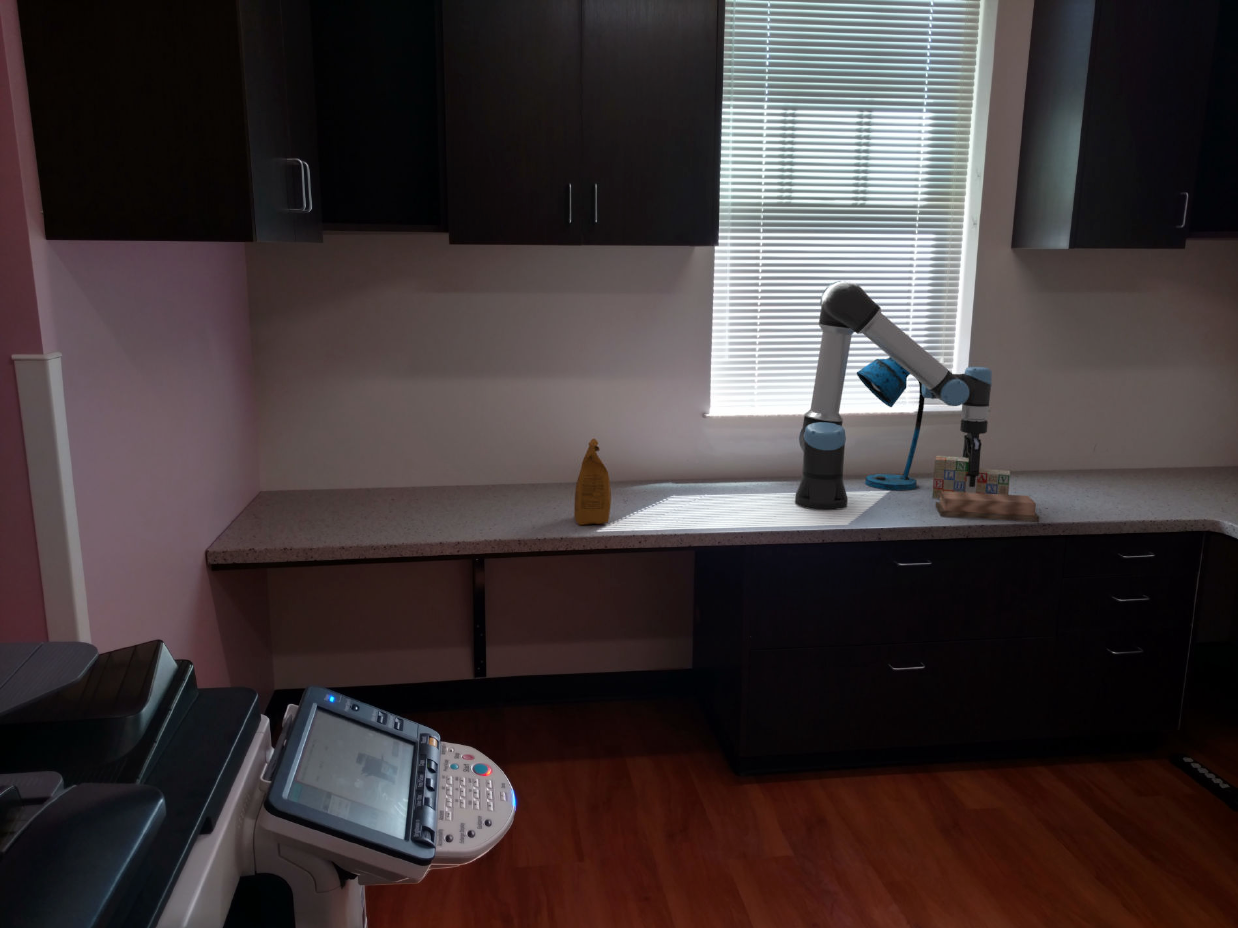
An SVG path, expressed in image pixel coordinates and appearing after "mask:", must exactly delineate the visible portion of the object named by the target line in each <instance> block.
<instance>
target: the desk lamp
mask: <svg viewBox="0 0 1238 928" xmlns="http://www.w3.org/2000/svg"><path fill="white" fill-rule="evenodd" d="M856 375H857V377H858V379H859V380H860V381H861V382H862V384H863V385H864V386H865V387H866V388H867V389H868V390H869V392H870V393H872V394H873V395H874V396H875V397H876V398H877V399H878V400H879V401H880V402H882V403H883V404H884V405H886V406H887V407H889V408H893V406H894V405H895V404H896V403H897V402H898V399H900V397H901V396H902V394H904V392H905V391H906V390H907V386H908V385H907V384H908V383H907V381H908V380H907V379H908V377H909V375H911V374H910V373H909V372H908V371H907V370H905V369H904V368H903V367H902V366H901V365H899V364H898V363H897V362H896V361H895V360H893V359H892V358H891V357H890V356H889V357H887V358H876V359H874V360H873V361H871V362H870V363H868V364H867V365H865V366H864V367H863V368H861V369H860V370H858V371H857V372H856ZM917 381H918V380H917ZM918 386H919V389H918V390H919V394H918V395H919V396H918V397H919V399H918V407H917V414H916V420H915V428H914V431H913V435H912V440H911V443H910V447H909V448H910V449H909V452H908V456H907V459H906V463H905V467H904V471H903V473H902V475H900V474H891V473H890V474H889V473H877V474H875V473H874V474H869V475H866V477H865V481H864V484H865V485H866V486H868V487H871V488H874V489H879V490H886V491H909V490H913V489H916V488H917V482H918V481H917V480H916V479H915V478H913V477H910V476H909V474H910V470H911V467H912V464H913V460H914V455H915V453H916V450H917V446H918V445H917V444H918V440H919V436H920V431H921V425H922V420H923V414H924V409H925V399H926V398H924V397H923V395H922V383H921V382H920V381H918Z"/></svg>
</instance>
